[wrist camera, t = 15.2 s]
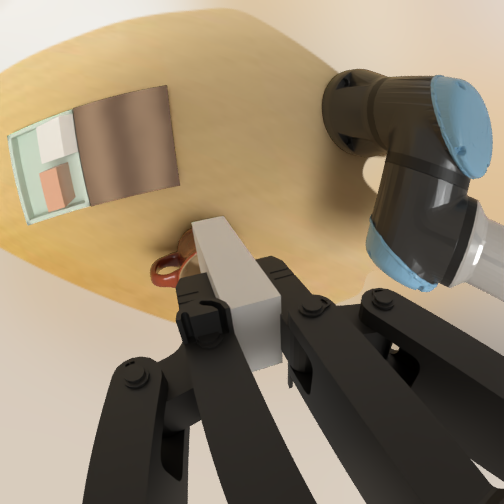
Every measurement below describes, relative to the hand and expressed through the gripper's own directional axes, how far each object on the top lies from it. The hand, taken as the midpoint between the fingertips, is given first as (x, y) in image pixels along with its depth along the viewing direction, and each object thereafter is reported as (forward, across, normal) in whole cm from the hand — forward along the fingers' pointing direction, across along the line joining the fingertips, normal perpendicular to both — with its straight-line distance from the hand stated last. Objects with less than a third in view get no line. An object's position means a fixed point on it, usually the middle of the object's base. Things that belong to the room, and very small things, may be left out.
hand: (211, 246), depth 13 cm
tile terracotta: (+23, +15, -2) cm, 28 cm away
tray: (+26, +18, -4) cm, 32 cm away
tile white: (+25, +14, -8) cm, 30 cm away
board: (+26, +6, -4) cm, 27 cm away
